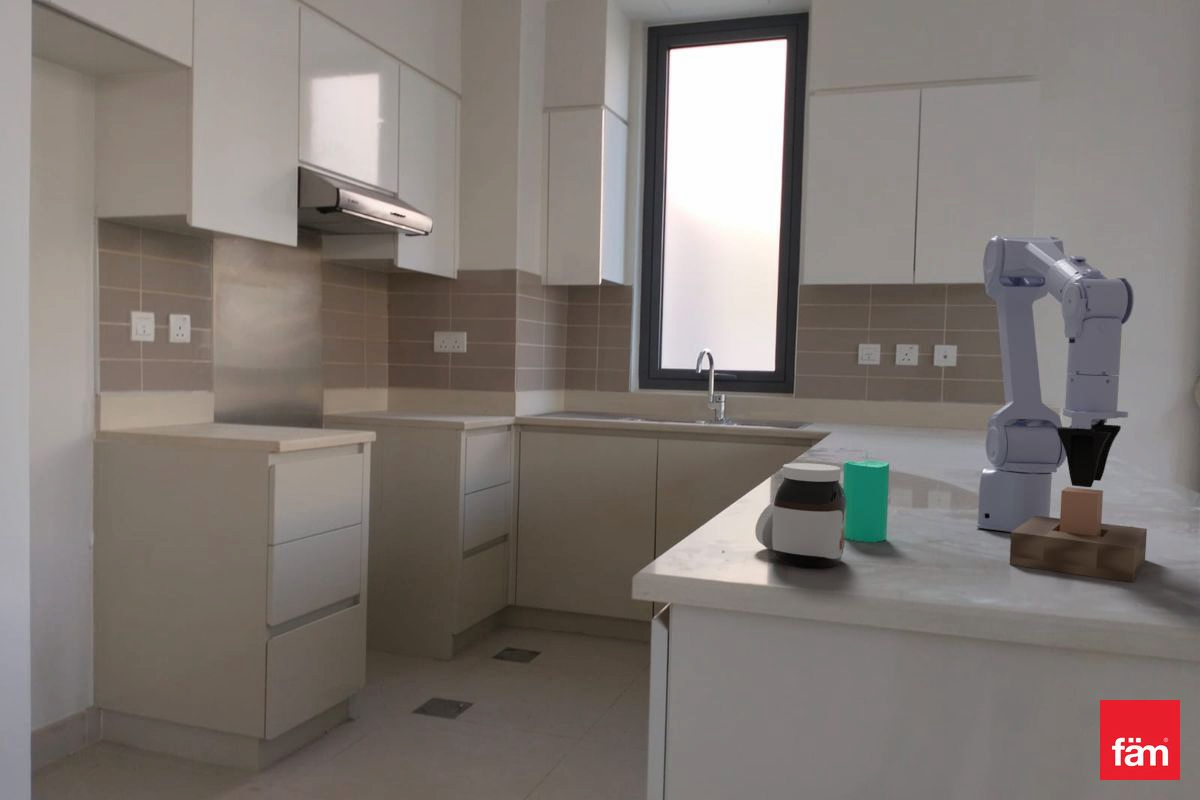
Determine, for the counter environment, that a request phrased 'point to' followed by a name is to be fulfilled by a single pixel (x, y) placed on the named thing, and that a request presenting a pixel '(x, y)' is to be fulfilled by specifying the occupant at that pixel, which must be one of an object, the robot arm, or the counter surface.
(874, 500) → the candle
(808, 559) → the spread jar
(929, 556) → the counter surface
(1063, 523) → the peg
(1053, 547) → the socket block
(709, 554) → the counter surface
